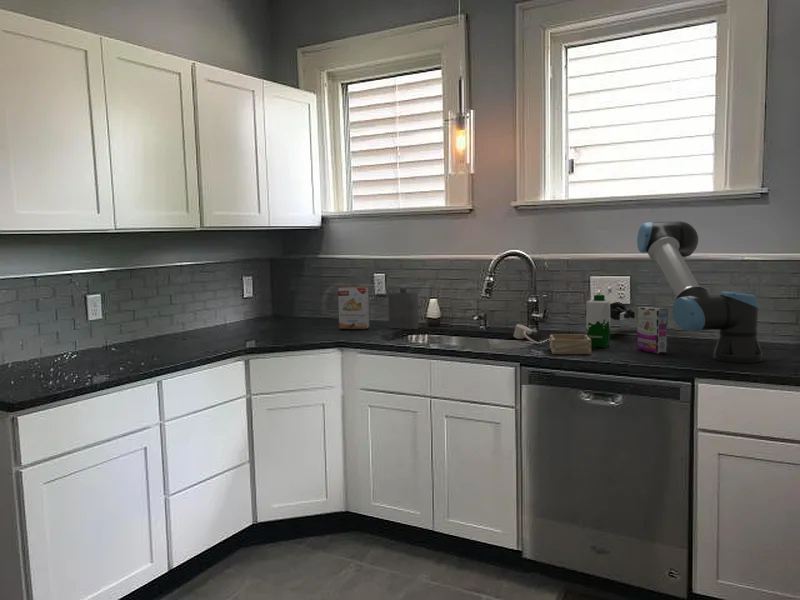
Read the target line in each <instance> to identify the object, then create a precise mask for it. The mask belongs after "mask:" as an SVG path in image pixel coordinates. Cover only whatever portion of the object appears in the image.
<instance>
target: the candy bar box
mask: <svg viewBox="0 0 800 600" xmlns="http://www.w3.org/2000/svg"><path fill="white" fill-rule="evenodd" d="M636 309H637V316H636V319H637V320H636V321H637V322H636V323H637V325H636V326H637V328H636V329H637V330H636V333H637V334H636V340H637V341H636V342H637V343H636V344H637V345H636V349H637V350H638V351H642V350H643V351H644V352H647V353H653V354H657V355H658V354H666V353H668V315H669V313H668V308H662V307H654V306H638V307H637V306H636Z"/></svg>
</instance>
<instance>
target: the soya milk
mask: <svg viewBox="0 0 800 600" xmlns="http://www.w3.org/2000/svg"><path fill="white" fill-rule="evenodd" d="M605 298H606V297H605V295H604V294H594V295H593V299H590V300H587V301H586V308H585V310H586V316H585V317H586V318H585V321H586V323H585V324H586V325H585V326H586V327H585V328H586V329H585V330H586V333H585V334H587V335H588V337H589V338H590V339H591V348H595V347H603V348H602V349H606V348H607V347H609V346H610V339H611V338H610V337H611V317H610V304H611V300H610V299H609V300H607V299H605Z"/></svg>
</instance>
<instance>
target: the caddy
mask: <svg viewBox="0 0 800 600" xmlns="http://www.w3.org/2000/svg"><path fill="white" fill-rule="evenodd" d="M549 339H550V340H549V349H551V350H550V351H552V352H551V355H553V354H591V355H592V347H591V339H590V338H589V337H588V335H587V334H586V333H580V334H579V333H569V334H568V333H561V334H559V333H558V334H555V333H553V334H552V333H551V334H549Z"/></svg>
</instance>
